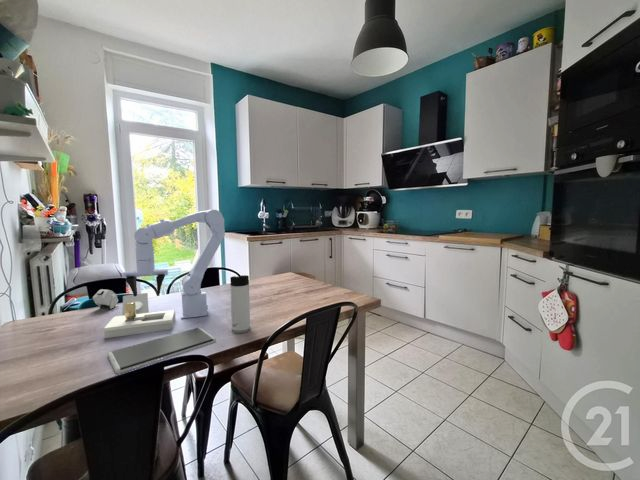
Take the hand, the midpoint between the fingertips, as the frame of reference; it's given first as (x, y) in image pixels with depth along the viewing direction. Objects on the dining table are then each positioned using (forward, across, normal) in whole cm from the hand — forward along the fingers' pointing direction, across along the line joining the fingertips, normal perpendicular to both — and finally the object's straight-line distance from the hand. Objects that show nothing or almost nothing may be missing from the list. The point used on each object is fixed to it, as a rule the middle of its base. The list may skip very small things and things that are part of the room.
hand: (147, 294), depth 108 cm
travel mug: (+10, -32, +21) cm, 40 cm away
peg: (+10, +4, +6) cm, 13 cm away
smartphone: (+11, -9, +26) cm, 30 cm away
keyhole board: (+10, +1, +6) cm, 12 cm away
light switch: (+11, +5, -7) cm, 14 cm away
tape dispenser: (+11, +20, -23) cm, 32 cm away
